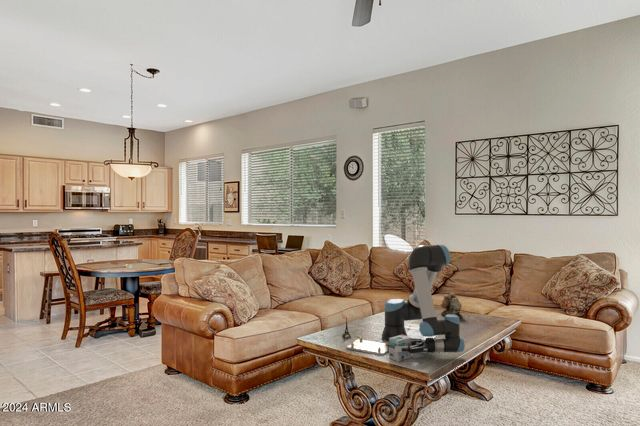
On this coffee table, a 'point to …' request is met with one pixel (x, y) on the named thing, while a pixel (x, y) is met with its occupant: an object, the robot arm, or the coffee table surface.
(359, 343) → the plate
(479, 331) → the coffee table surface
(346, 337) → the eiffel tower figurine
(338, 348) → the coffee table surface
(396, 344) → the light bulb box
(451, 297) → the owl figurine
